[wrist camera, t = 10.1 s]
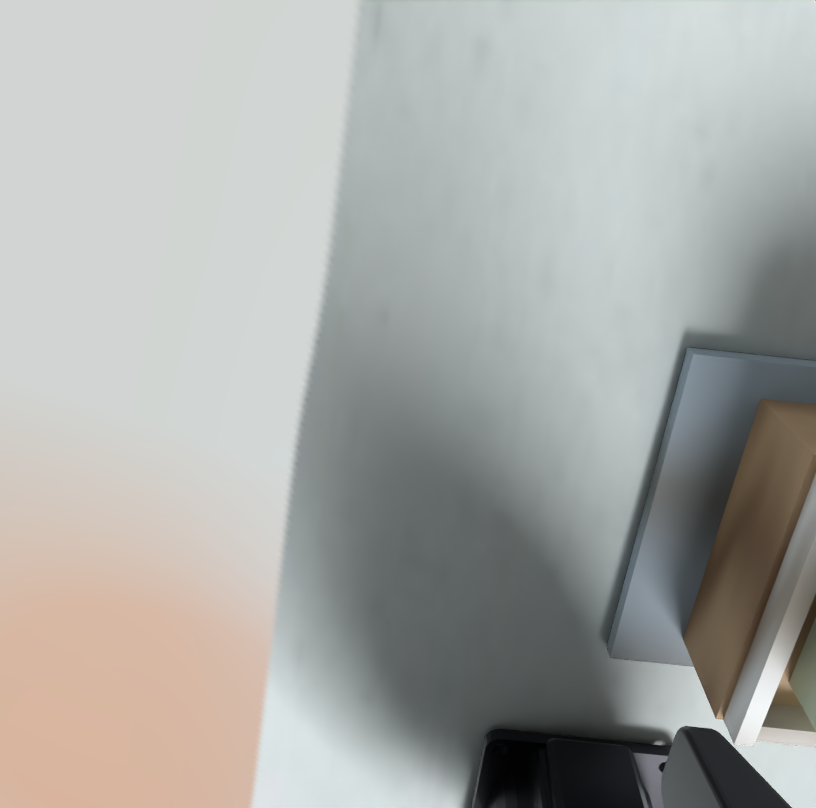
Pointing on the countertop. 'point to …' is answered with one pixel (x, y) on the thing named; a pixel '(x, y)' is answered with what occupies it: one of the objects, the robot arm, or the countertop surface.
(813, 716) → the sage block
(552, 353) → the countertop surface
